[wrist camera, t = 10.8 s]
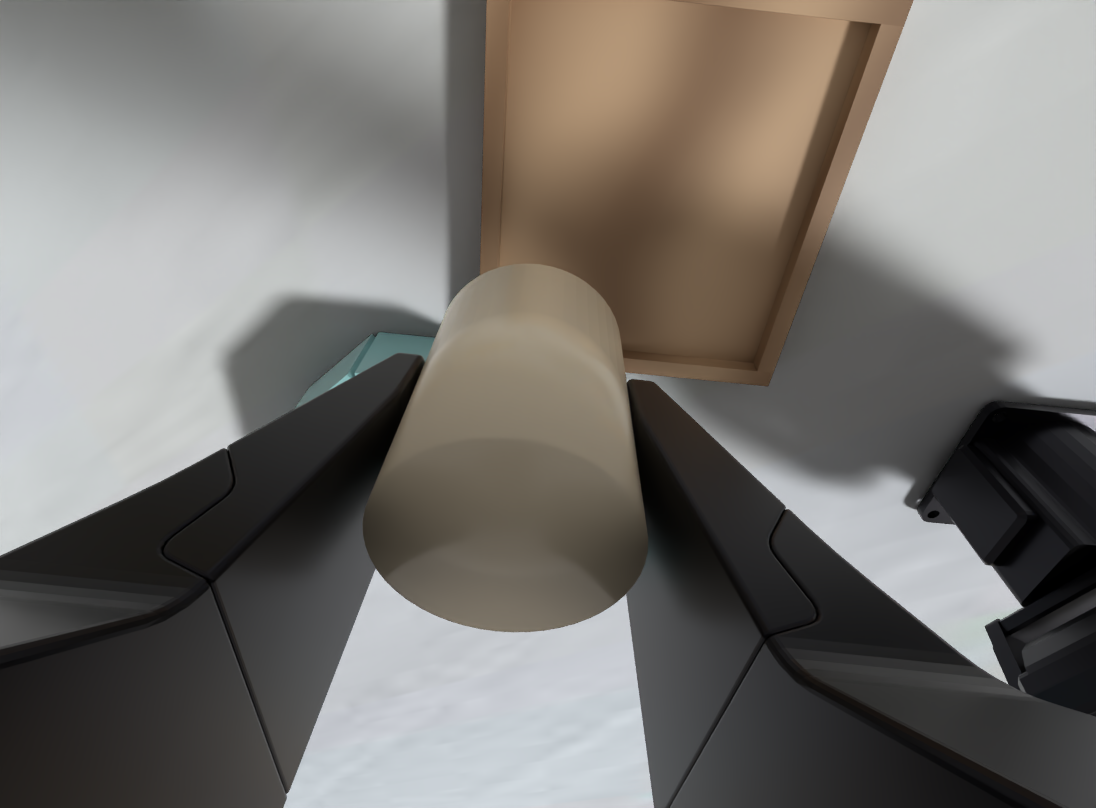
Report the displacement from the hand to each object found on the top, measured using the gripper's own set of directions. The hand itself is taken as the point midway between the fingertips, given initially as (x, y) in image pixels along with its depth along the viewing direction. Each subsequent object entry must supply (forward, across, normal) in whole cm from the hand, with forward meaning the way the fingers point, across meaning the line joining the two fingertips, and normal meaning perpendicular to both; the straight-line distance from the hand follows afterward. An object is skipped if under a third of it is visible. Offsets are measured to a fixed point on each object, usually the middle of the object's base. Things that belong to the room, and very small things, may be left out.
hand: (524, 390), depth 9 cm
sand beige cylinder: (+1, 0, 0) cm, 1 cm away
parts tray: (+12, -3, 0) cm, 12 cm away
